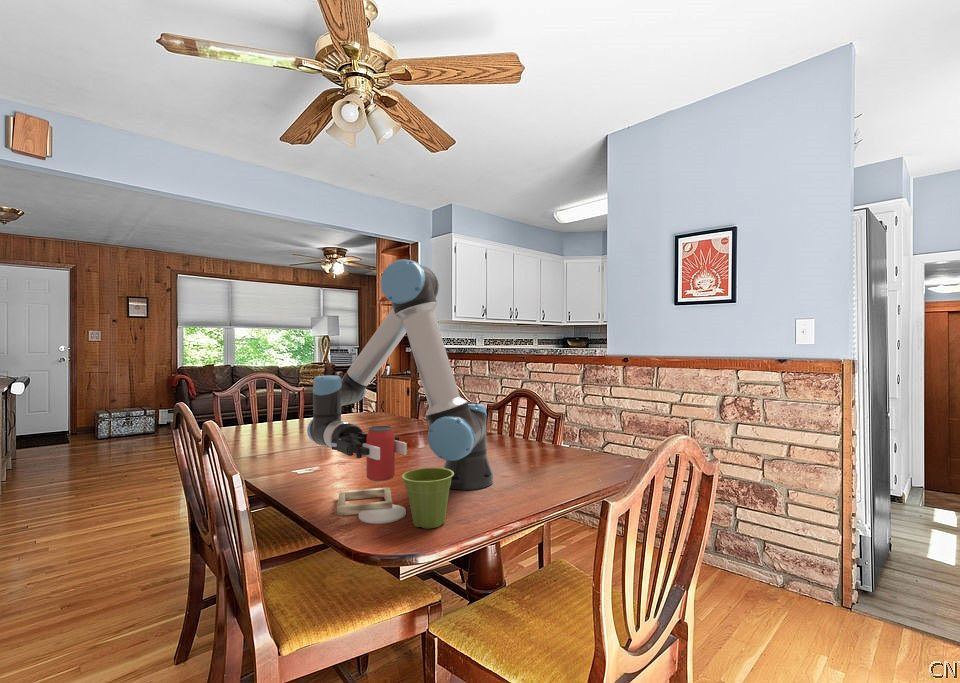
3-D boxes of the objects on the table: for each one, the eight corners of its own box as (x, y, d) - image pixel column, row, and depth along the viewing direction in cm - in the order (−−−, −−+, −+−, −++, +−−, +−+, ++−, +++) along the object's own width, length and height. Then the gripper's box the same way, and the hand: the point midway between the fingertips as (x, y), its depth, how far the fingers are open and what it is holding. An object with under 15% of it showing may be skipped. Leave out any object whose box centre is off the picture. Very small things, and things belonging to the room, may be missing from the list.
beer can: (388, 482, 113) (388, 430, 113) (361, 481, 114) (361, 429, 114) (398, 475, 119) (398, 425, 119) (373, 473, 121) (373, 424, 121)
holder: (389, 494, 132) (389, 487, 132) (392, 510, 120) (392, 502, 120) (339, 498, 129) (339, 491, 129) (337, 515, 117) (337, 507, 117)
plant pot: (434, 510, 120) (433, 464, 120) (465, 523, 111) (464, 474, 111) (392, 522, 112) (391, 473, 112) (421, 538, 103) (421, 484, 103)
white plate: (403, 505, 123) (403, 502, 123) (407, 521, 113) (407, 517, 113) (358, 509, 121) (358, 506, 121) (358, 525, 110) (358, 522, 110)
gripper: (376, 445, 137) (426, 460, 120) (308, 457, 123) (354, 475, 106) (376, 418, 137) (426, 429, 120) (308, 427, 123) (354, 441, 106)
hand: (392, 451), depth 113 cm, fingers closed on beer can, 7 cm apart
